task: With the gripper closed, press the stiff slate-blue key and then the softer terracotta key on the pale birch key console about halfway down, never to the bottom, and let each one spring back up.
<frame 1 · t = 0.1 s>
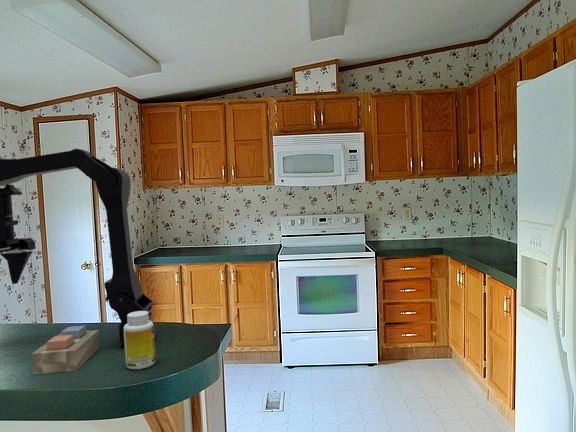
hand: (3, 287, 95), 15 cm above the countertop, fingers open, 9 cm apart
key terracotta: (60, 345, 86), point 4 cm above the countertop, slide at 0.0 cm
supplement bottle: (141, 365, 85), on the countertop
key console: (69, 360, 89), on the countertop
key slate: (73, 335, 92), point 4 cm above the countertop, slide at 0.0 cm
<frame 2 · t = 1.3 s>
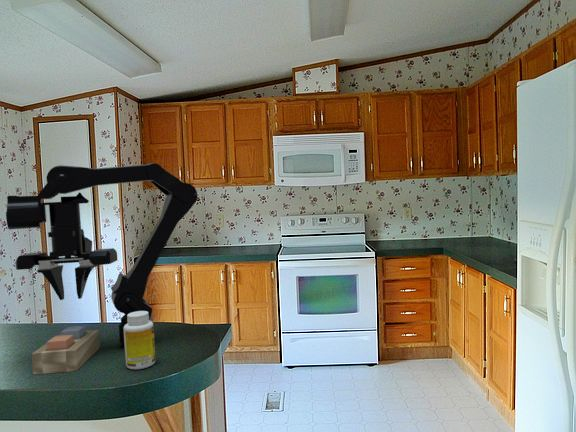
hand: (71, 299, 92), 12 cm above the countertop, fingers open, 3 cm apart
nothing on the countertop moved.
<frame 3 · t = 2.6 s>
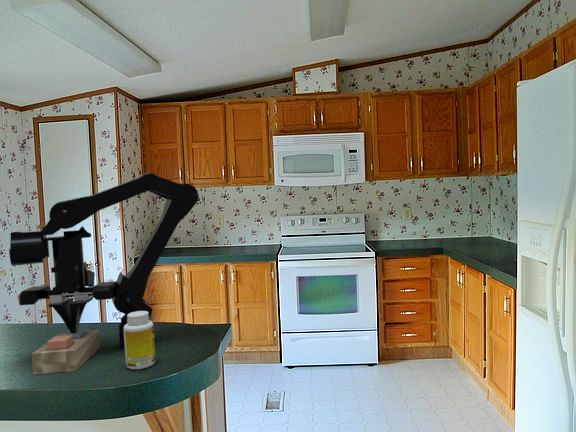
hand: (74, 332, 92), 5 cm above the countertop, fingers closed, pressing on key slate
key slate: (74, 339, 92), point 3 cm above the countertop, slide at 0.9 cm, touching gripper
everything else where it was.
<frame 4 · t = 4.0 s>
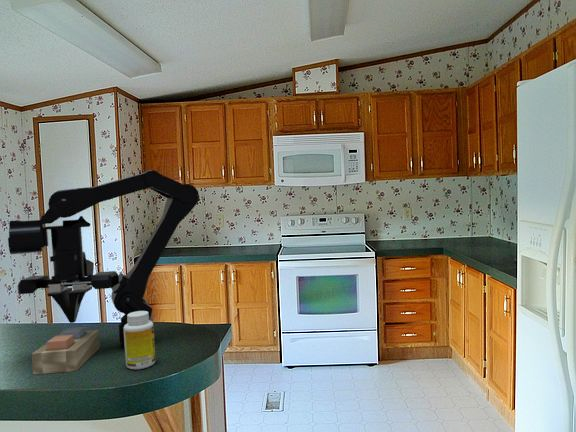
hand: (72, 322, 92), 7 cm above the countertop, fingers closed
key slate: (73, 335, 92), point 4 cm above the countertop, slide at 0.2 cm
everything else where it was.
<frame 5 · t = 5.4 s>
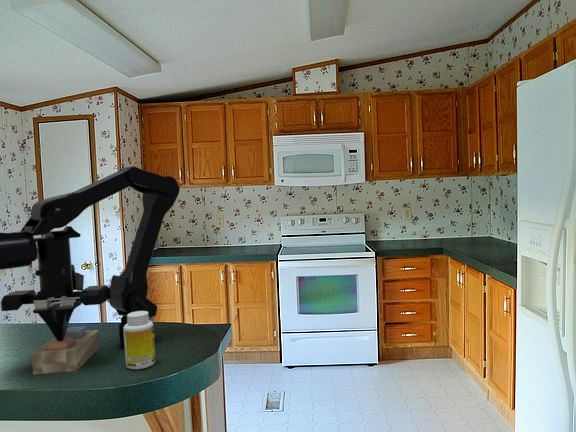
hand: (60, 340, 86), 5 cm above the countertop, fingers closed, pressing on key terracotta
key terracotta: (61, 347, 86), point 4 cm above the countertop, slide at 0.4 cm, touching gripper
everything else where it was.
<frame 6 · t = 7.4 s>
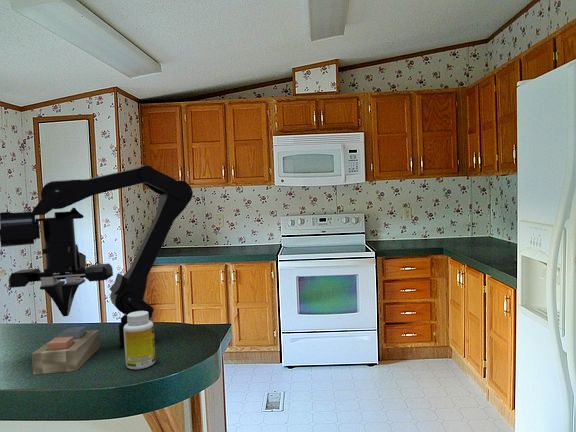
hand: (66, 315, 91), 9 cm above the countertop, fingers closed
key terracotta: (61, 346, 86), point 4 cm above the countertop, slide at 0.3 cm
everything else where it was.
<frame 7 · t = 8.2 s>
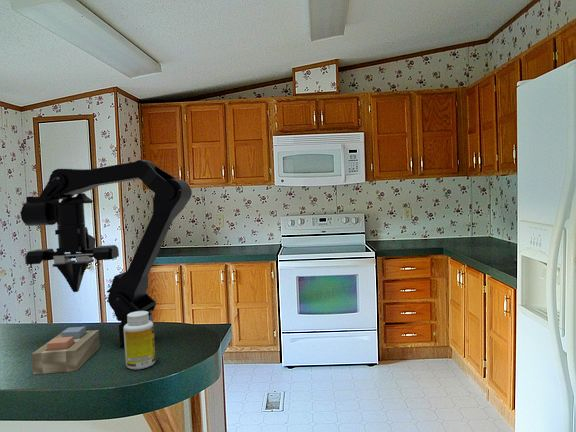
hand: (76, 291, 99), 12 cm above the countertop, fingers closed
nothing on the countertop moved.
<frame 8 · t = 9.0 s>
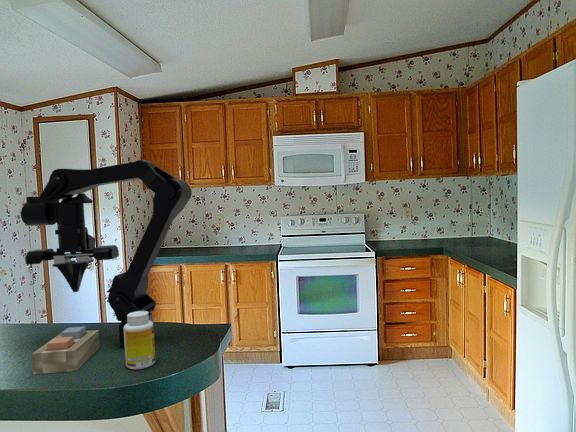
hand: (76, 291, 99), 12 cm above the countertop, fingers closed
nothing on the countertop moved.
at the end: key slate slide at 0.2 cm; key terracotta slide at 0.3 cm; supplement bottle moved 0.2 cm from its start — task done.
